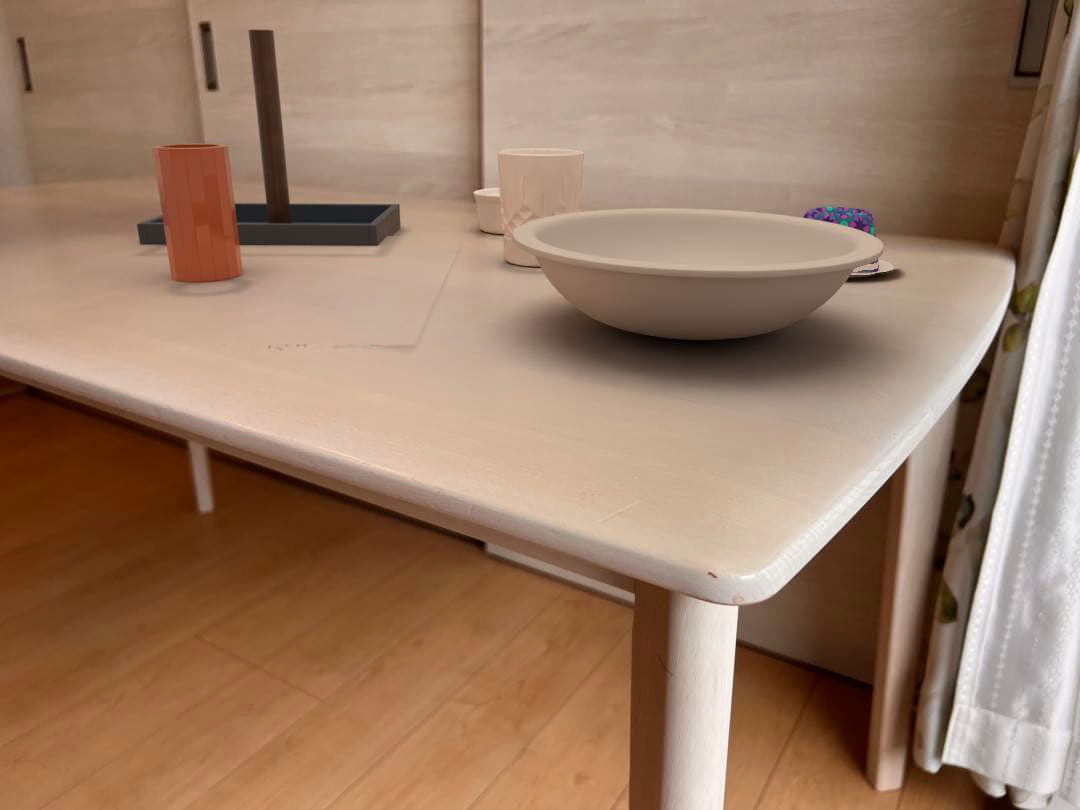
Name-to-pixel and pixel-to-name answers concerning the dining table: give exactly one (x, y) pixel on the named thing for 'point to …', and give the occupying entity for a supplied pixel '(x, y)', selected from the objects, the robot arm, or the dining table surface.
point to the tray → (302, 225)
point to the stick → (270, 125)
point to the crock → (198, 211)
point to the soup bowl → (695, 267)
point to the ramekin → (489, 210)
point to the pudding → (850, 219)
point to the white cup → (536, 191)
